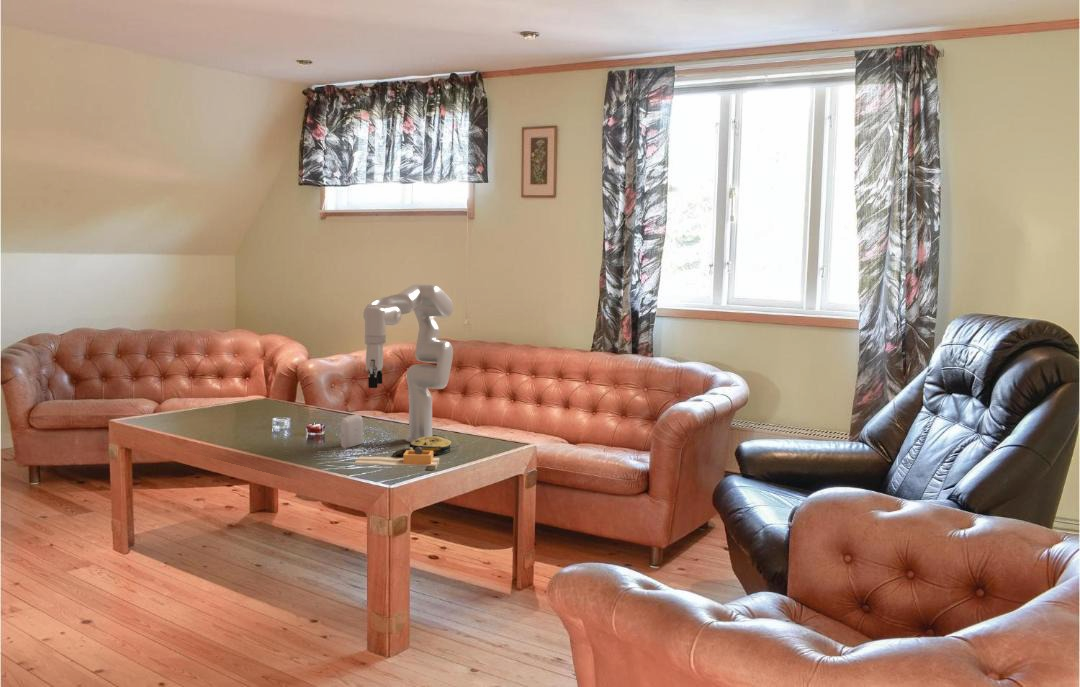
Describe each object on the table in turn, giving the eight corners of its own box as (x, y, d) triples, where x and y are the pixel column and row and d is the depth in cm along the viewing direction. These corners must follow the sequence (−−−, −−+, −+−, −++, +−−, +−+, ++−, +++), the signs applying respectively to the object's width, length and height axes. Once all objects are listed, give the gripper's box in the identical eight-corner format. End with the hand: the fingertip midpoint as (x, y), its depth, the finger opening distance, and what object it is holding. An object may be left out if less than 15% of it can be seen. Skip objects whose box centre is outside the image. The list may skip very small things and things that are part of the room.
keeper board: (359, 460, 331) (359, 442, 330) (439, 461, 331) (439, 443, 330) (352, 468, 319) (352, 449, 318) (435, 469, 319) (435, 450, 318)
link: (406, 458, 328) (406, 450, 328) (433, 459, 328) (433, 450, 328) (403, 463, 321) (403, 454, 321) (430, 463, 321) (430, 455, 321)
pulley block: (382, 440, 334) (437, 429, 358) (380, 455, 335) (436, 442, 359) (407, 452, 326) (463, 439, 349) (406, 466, 327) (461, 453, 350)
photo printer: (347, 448, 349) (347, 418, 348) (339, 447, 351) (339, 416, 350) (364, 443, 358) (364, 413, 357) (356, 442, 360) (356, 412, 359)
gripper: (369, 337, 335) (370, 381, 337) (360, 342, 318) (360, 389, 320) (389, 337, 335) (389, 382, 337) (381, 342, 318) (381, 389, 320)
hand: (375, 385), depth 329 cm, fingers open, 9 cm apart
